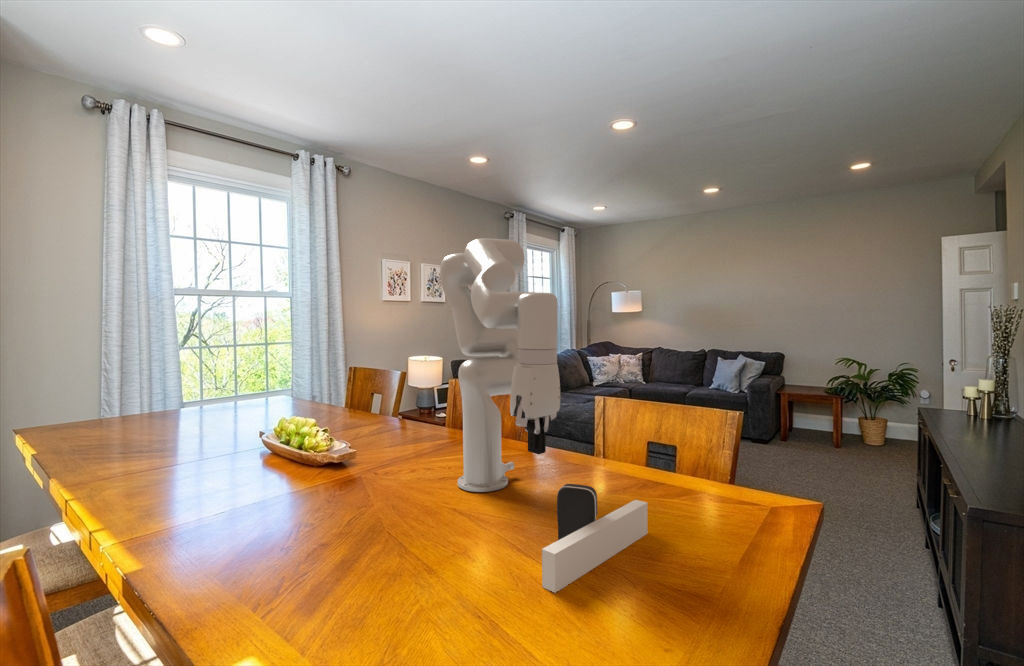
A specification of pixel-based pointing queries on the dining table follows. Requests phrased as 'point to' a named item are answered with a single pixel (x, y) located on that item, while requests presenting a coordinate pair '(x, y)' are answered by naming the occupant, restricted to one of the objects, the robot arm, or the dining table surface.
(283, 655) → the dining table surface
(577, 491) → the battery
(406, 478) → the dining table surface
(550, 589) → the board
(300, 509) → the dining table surface
